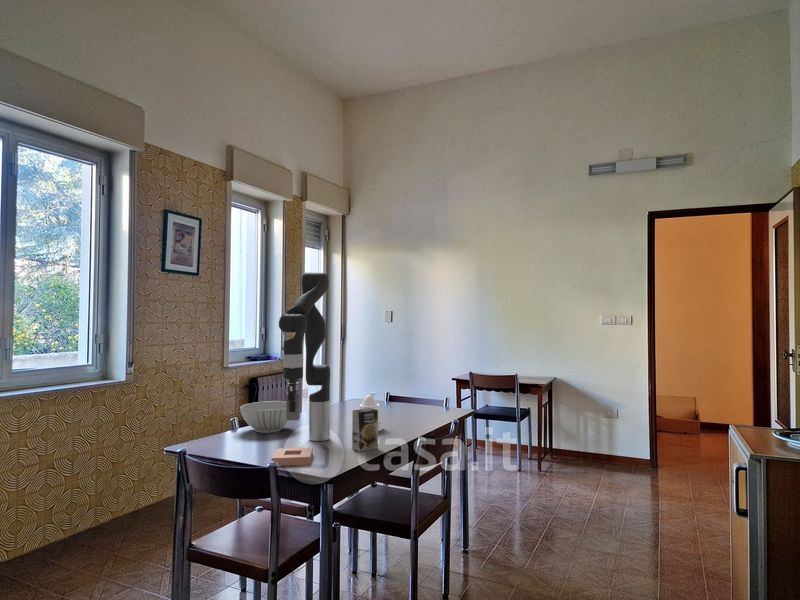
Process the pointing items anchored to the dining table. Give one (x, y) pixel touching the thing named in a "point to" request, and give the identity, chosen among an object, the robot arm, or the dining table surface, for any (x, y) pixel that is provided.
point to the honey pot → (372, 407)
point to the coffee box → (364, 429)
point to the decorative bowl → (265, 415)
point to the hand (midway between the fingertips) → (293, 410)
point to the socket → (293, 456)
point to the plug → (295, 414)
